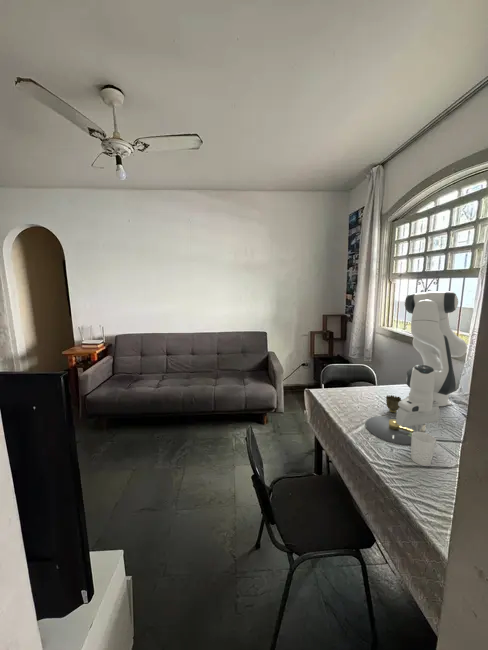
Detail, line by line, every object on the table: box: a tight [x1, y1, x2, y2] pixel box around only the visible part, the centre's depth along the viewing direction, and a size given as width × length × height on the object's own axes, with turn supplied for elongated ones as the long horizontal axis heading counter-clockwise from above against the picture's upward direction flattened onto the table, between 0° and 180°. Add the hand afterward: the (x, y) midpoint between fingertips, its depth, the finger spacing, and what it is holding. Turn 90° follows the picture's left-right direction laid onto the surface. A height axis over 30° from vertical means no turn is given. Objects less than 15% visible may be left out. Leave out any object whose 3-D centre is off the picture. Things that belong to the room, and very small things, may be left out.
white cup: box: [410, 432, 437, 467], centre depth 109 cm, size 8×8×10 cm
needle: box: [389, 419, 427, 433], centre depth 128 cm, size 14×4×6 cm, turn 48°
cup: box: [385, 394, 402, 414], centre depth 149 cm, size 8×7×8 cm
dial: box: [365, 415, 413, 446], centre depth 132 cm, size 24×24×1 cm
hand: (416, 432), depth 123 cm, fingers closed
